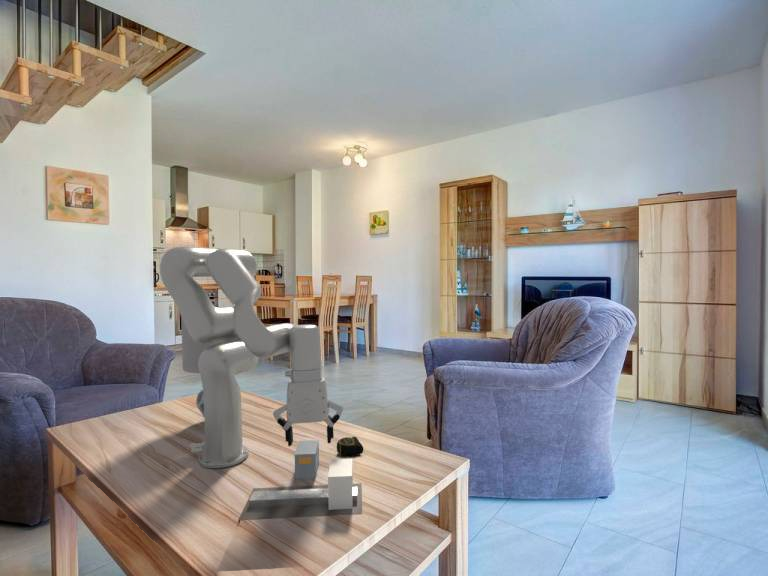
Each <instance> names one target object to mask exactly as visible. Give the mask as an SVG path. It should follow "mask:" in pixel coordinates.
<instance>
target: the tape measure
mask: <svg viewBox="0 0 768 576" xmlns="http://www.w3.org/2000/svg"><path fill="white" fill-rule="evenodd" d="M336 452H337V454H338V455H339V456H341V457H344V458H346V457H347V458H351V457H354V456H359V455H361V454H363V453H364V446H363V444H362V443H361V441H359V439H358V437H357V436H351V437H349V436H347V437H342V438H339V439H338V440H337V442H336Z"/></svg>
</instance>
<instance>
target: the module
mask: <svg viewBox="0 0 768 576" xmlns="http://www.w3.org/2000/svg"><path fill="white" fill-rule="evenodd" d="M319 464H320V441H319V439H314V440H313V439H312V440H306V439H305V440H298V443H297V447H296V449H295V453H294V479H295V480H301V479H303V480H304V479H317V472H318V471H317V470H318V466H319Z"/></svg>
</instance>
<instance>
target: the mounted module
mask: <svg viewBox="0 0 768 576" xmlns="http://www.w3.org/2000/svg"><path fill="white" fill-rule="evenodd" d="M353 460H354V459H353V458H351V457H350V458H334V459H332V458H331V459H330V461H329V468H328V473H327V485H328V502H329V510H333V509H353V498H352V494H353V484H354V478H353V475H354V470H353Z"/></svg>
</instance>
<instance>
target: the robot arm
mask: <svg viewBox="0 0 768 576" xmlns="http://www.w3.org/2000/svg"><path fill="white" fill-rule="evenodd" d="M257 267H258V265H257V261H256V258H255V257H254V256H253V254H252V253H250V252H249V251H247V250H243V249H233V248H232V249H231V248H215V247H203V246H202V247H200V246H190V245H189V246H187V245H185V246H175V247H172V248H169V249H168V250H167V251H165V252H164V254H163V255H162V257H161V259H160V264H159V274H160V278H161V279H160V280H161V281H162V285H163V286H164V288H165V289H166V291H167V293H168V294H169V295H170V297H171V298H172V300H173V302H174V303H175V305H176V308H177V310H178V312H179V314H180V318H181V317H182V319H183V321H184V323H185V325H186V327H187V329H188V331H189V333H190V335H191V337H192V339H193V340H194V341H195V342H197V343H210V342H215V341H219V340H223V342H224V343H220V344H216V345H213V346H210V347H208V348H207V349H205V350H204V351H203V352H202V353H201V355H200V357H199V361H198V366H199V371H200V373H199V375H200V379H201V386H202V385H203V387H202V390H203V396H204V416H203V419H204V421H205V423H204V441H203V442H202V443H199V442H196V443H195V442H194V443H193V442H192V443H190V446H189V448H190V449H189V451H191V454H194V455H195V454H200V456H199V457H198V458H199V459H198V460H199V465H200V466H202V467H204V468H207V469H222V468H223V469H224V468H228V467H232V466H234V465H238V464H241V463H242V462H243V461H244V460H246V459H247V458H248V457H249V448H248V447H247V446H245V445H243V417H242V415H243V412H242V410H243V409H242V392H241V391H242V390H241V387H240V385H239V383H238V381H237V380H236V378H235V376H236V375H240V374H242V373H245V372H248V371H250V370H252V369H254V368H255V367H256V366H257V364H258V363H259V360H260V359H269V358H273V357H275V356H278V355H283V354H286V353H289V356H290V357H289V359H290V361H289V362H290V369H289V370H286V371H285V372H284V376H285V377H286V378H287V377H288V378H290V380H289V381H288V382H287V388H286V403H285V404H284V405H282V406H281V407H279V408H277V409H275V410H274V411H273V413H272V415H273V418H274V419H275V420H276V422H277V424H279V426H280V427H281V428H282V429H283V430H284V431H285V435H284V436H285V442H287V446H288V447H291V446H293V442H294V433H293V426H292V424H307V423H308V424H309V423H320V422H321V423H322V422H324V423H326V425H327V426H326V437H327V440H326V441H327V442H326V443H328V444H332V443H331V442H332V439H334V437H335V435H334V425H336V423H337V422H338V421H339V420H340V418H341V415H342V413H343V411H344V407H343V406H342V405H341V404H338V403H336V402H334V401H331V400H329V393H328V392H329V391H328V389H327V388H328V387H327V383H326V379H325V377H323V371H322V355H321V354H322V352H321V349H322V348H321V331H320V327H318V326H317V325H315V324H293V323H286V322H284V323H280V324H273V325H267V326H265V324H264V323H263V322H262V321H261V319H260V318H259V316H258V314H257V313H256V311H255V308H254V304H255V303H256V302H257V301H258V300H259V299H260V298H261V295H262V293H263V292H262V291H263V290H262V287H261V285H260V284H259V283H258V281H257V280H256V279H255V277H254V276H255V274H256V272H257V269H258V268H257ZM201 277H202V278H204V277H205V278H206V277H208V278H210V277H211V278H212V280H213V281H214V282H215V283H216V285H217V286H218V288H219V289H220V290H221V292H222V293H223V295H224V296H225V297H226V298H227V300H228V302H229V303H230V304H231V305H232V307H230V306H218V307H216V306H215V305H214V303H213V302H212V300H211V299H210V296H209V294H208V292H207V291H206V289H205V288H204V287H203V286H202V285H201V284H199V283H198V282H197V281H196V280H195V279H194V278H201ZM330 409H332V410H334V411H336V413H335V414H334V415H333V416H331V415H330ZM284 412H286V419H287V420H286V419H285V418H284V417H282V414H283V413H284Z"/></svg>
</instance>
